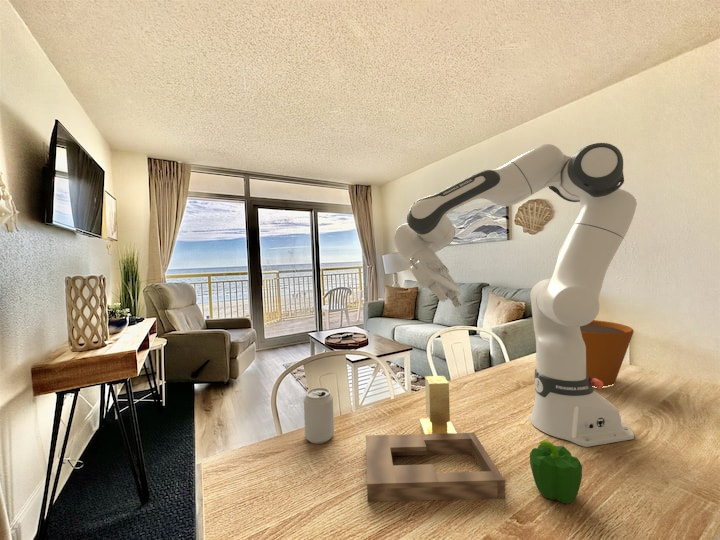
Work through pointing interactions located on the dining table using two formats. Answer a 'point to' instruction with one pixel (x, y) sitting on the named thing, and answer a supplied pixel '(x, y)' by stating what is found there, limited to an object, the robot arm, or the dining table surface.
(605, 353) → the flower pot
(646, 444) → the dining table surface
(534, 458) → the bell pepper
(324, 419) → the can
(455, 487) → the walnut keyhole plate
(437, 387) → the brass peg
